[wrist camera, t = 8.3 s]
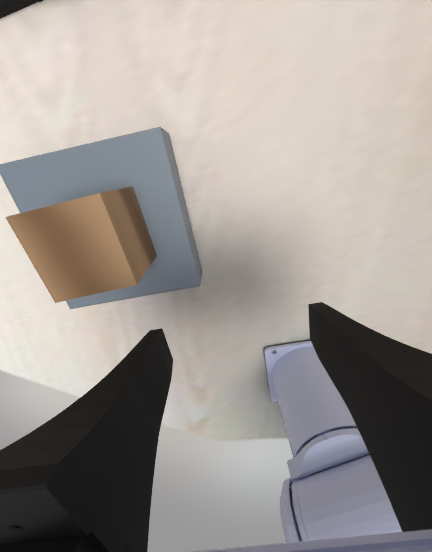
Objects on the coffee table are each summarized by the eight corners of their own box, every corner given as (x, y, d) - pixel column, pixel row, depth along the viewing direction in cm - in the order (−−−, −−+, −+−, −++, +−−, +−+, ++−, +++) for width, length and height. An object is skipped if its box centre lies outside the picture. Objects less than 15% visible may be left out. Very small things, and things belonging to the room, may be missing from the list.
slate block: (170, 134, 18) (160, 126, 15) (202, 269, 22) (200, 285, 19) (33, 166, 19) (-5, 165, 15) (90, 289, 23) (70, 309, 20)
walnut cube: (132, 186, 16) (99, 192, 11) (157, 255, 18) (137, 284, 13) (63, 203, 16) (5, 217, 12) (95, 269, 18) (55, 302, 14)
